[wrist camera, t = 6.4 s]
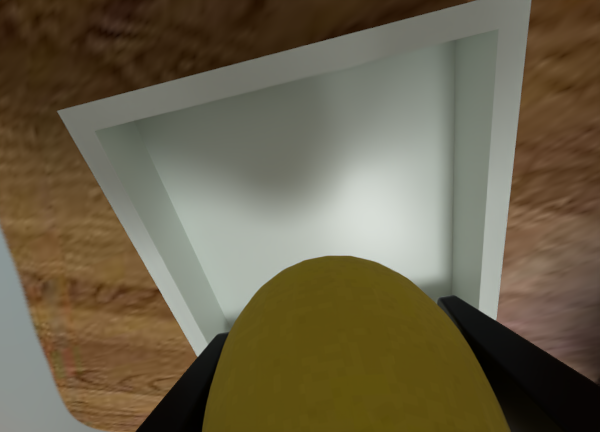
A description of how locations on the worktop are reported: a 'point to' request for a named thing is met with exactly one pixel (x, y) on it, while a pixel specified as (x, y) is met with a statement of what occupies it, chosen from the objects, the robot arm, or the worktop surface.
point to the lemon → (347, 358)
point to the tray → (321, 162)
